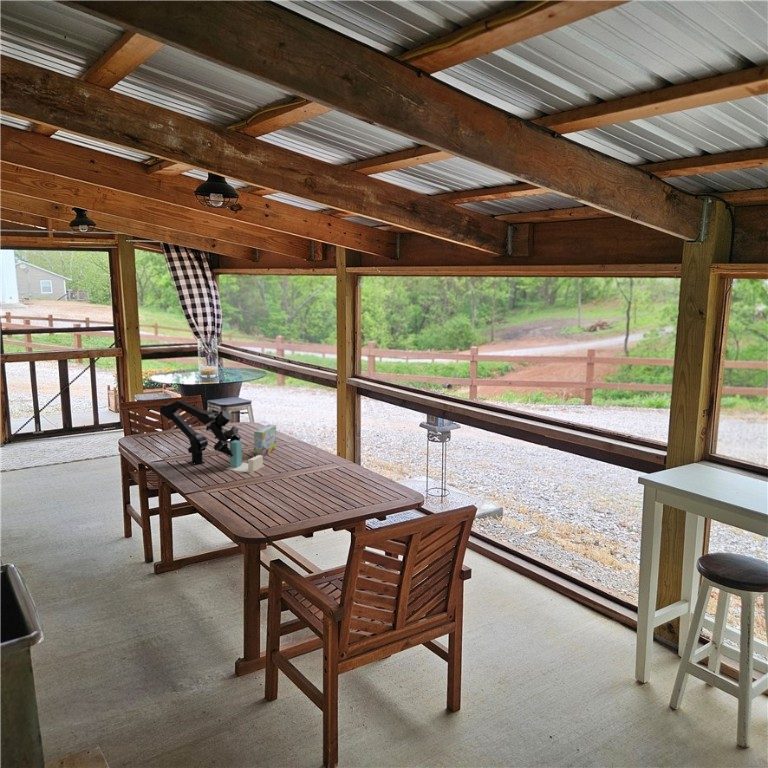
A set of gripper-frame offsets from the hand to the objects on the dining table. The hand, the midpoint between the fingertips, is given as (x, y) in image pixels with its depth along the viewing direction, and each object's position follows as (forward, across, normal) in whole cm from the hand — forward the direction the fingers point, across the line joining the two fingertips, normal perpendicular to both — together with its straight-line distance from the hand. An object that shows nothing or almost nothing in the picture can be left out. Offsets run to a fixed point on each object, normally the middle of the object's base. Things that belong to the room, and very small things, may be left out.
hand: (237, 454), depth 335 cm
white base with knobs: (+9, 0, +2) cm, 9 cm away
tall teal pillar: (+4, 0, +5) cm, 7 cm away
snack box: (+5, +32, +7) cm, 33 cm away
